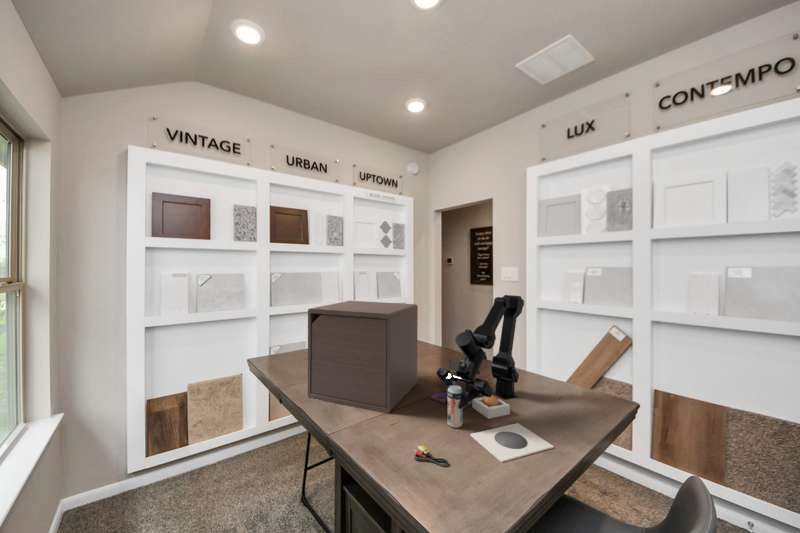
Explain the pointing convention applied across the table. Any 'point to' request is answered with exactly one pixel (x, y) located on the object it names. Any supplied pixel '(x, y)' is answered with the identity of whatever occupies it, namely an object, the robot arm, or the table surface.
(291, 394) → the table surface
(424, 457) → the composite cable
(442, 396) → the smartphone
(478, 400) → the button housing
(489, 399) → the button
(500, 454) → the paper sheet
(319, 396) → the storage cube
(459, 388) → the beer can
